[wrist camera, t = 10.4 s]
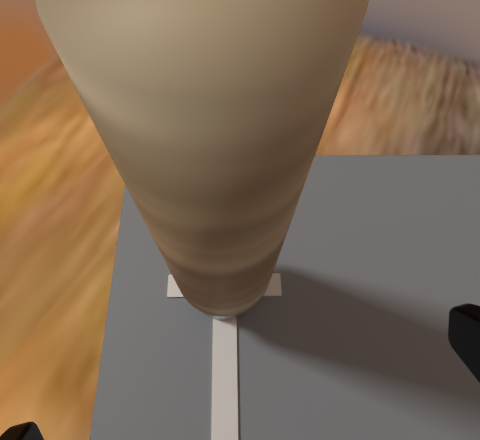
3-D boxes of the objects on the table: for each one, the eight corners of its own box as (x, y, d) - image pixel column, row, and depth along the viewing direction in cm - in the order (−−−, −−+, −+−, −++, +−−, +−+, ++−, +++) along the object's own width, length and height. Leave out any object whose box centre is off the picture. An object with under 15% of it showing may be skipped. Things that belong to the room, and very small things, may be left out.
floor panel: (965, 874, 10) (1061, 937, 9) (35, 934, 9) (7, 1012, 8) (589, 167, 20) (610, 153, 19) (135, 168, 20) (128, 154, 18)
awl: (281, 298, 15) (440, 10, 4) (209, 344, 15) (119, 157, 3) (237, 233, 17) (252, -134, 5) (169, 272, 16) (-9, -62, 4)
